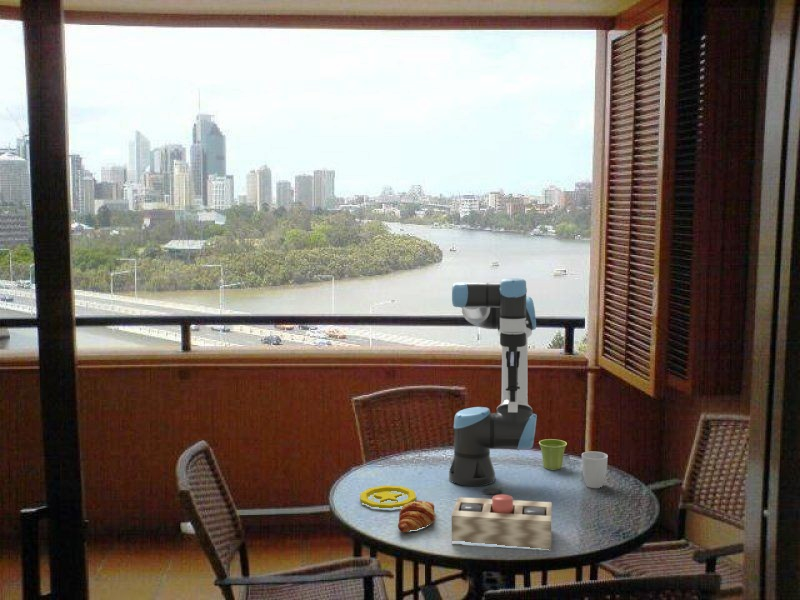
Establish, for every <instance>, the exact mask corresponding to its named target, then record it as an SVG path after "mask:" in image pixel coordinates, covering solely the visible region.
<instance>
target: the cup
mask: <svg viewBox="0 0 800 600" xmlns="http://www.w3.org/2000/svg"><path fill="white" fill-rule="evenodd" d="M608 457H609V456H608V454H607V453H605V452H602V451H585V452H582V453H581V466H582V468H581V469H582V474H583V479H584V482H585V485H586V487H587V488H589V489H600V487H601V488H602V487H603V485H604V482H605V480H606V475H607V470H608Z"/></svg>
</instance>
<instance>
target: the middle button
mask: <svg viewBox="0 0 800 600" xmlns="http://www.w3.org/2000/svg"><path fill="white" fill-rule="evenodd" d="M491 499H492V513H507V514H513V500H514V497H513V496H511V495H509V494H495V495H493V496H492V498H491Z"/></svg>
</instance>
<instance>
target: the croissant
mask: <svg viewBox="0 0 800 600" xmlns="http://www.w3.org/2000/svg"><path fill="white" fill-rule="evenodd" d="M399 510H400V511H399V513H398V515H399V516H398V517H399V518H398V524H397V527H398V530H399V531H400V532H401V533H404V532H406V533H409V532H408V531H410V530H417V529H419V528H422V527H426V526H427V525H429V524H430V525H432V523H434V521H436V514H435V511H436V510H435V504H434V502H430V501H423V500H416V502H410V503H408V504H405V505H404V506H403V507H402V509H399ZM430 525H429V526H430ZM427 527H428V526H427ZM427 527H426V528H427Z"/></svg>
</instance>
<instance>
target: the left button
mask: <svg viewBox="0 0 800 600" xmlns="http://www.w3.org/2000/svg"><path fill="white" fill-rule="evenodd" d="M461 511H473V512H481V506H480V505H478V504H472V503H469V504H464V505H462V506H461Z"/></svg>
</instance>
